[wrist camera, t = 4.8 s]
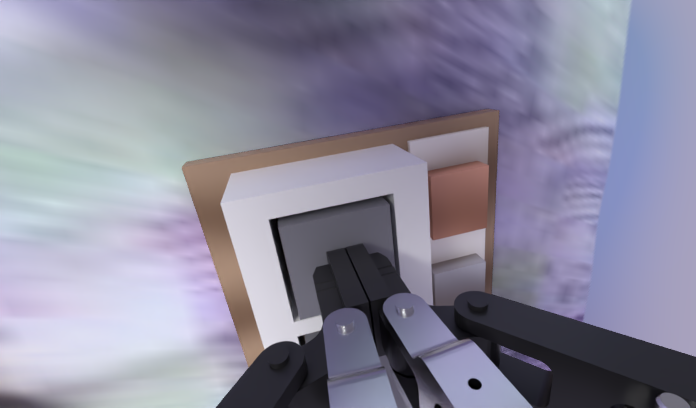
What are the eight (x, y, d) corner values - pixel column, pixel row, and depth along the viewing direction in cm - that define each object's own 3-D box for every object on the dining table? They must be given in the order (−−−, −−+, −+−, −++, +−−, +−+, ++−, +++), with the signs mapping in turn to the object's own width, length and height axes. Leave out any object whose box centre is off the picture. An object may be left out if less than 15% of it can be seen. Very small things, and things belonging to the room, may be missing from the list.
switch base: (186, 162, 16) (174, 175, 14) (487, 108, 19) (516, 113, 16) (275, 434, 24) (276, 469, 22) (480, 370, 26) (498, 396, 24)
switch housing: (231, 173, 16) (220, 203, 12) (392, 143, 17) (427, 162, 13) (303, 432, 23) (310, 500, 19) (413, 397, 24) (439, 455, 20)
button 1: (275, 193, 16) (278, 228, 13) (363, 176, 17) (389, 204, 13) (293, 270, 18) (300, 320, 14) (371, 251, 19) (397, 294, 15)
